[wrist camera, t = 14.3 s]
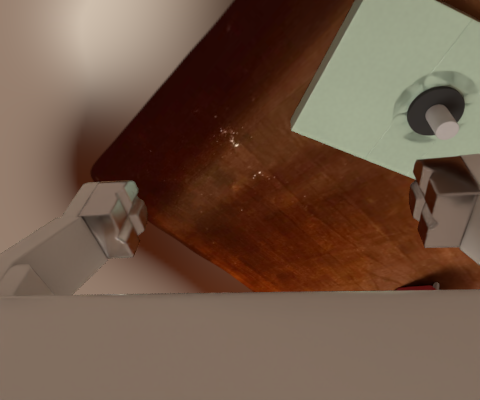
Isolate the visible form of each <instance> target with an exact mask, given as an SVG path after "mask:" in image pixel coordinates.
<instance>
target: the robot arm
mask: <svg viewBox="0 0 480 400" xmlns="http://www.w3.org/2000/svg"><path fill="white" fill-rule="evenodd" d="M413 173H414V176H415V178H416V180H415V181H414V182H413V183H412V184H411V185H410V191H409V205H410V210H411V213H412V216H413V218H415V219H416V220H418V221H419V225H418V232H419V234H420V237H421V239H422V242H423V244H424V247H425V248H437V247H460V250H462V251H463V252H464V253H465V254H467V255H468V256H469V257H470V258H471V259H473V260H474V261H475V262H476V263H478V264H479V265H480V154H479V153H478V154H468V155H458V156H453V157H440V158H428V159H417V160H416V162H415V164H414V169H413ZM138 191H139V190H138V188H137V186H136V184H135V182H133V181H131V180H125V181H106V182H91V183H86V184H84V185H83V186H82V187H81V189H80V190H79V191H78V193H77V195H76V196H75V197H74V199H73V200H72V202H71V203H70V205H69V206H68V208H67V209H66V211H65V212H64V213H63V215H62V217H61V218H55V219H54V220H52V221H50V222H49V223H47V224H46V225H44V226H43V227H41V228H40V229H38V230H36V231H35V232H33V233H32V234H30V235H29V236H27V237H26V238H24V239H22V240H21V241H19V242H18V243H16V244H15V245H13V246H12V247H10V248H8V249H7V250H5V251H4V252H2V253H1V254H0V400H480V289H469V290H403V291H320V292H247V293H246V292H244V293H178V294H175V293H173V294H106V295H105V294H103V295H102V294H100V295H73V294H74V293H75V292H76V291H77V290H78V289H79V288H80V287H81V286H82V285H83V284H84V283H85V282H86V281H87V280H88V279H89V278H90V277H91V276H92V275H93V274H94V273H95V272H96V271H97V270H98V269H100V268H101V267H102V265H104V263H106V262H107V261H108V259H111V258H128V257H134V255H135V252H136V250H137V247H138V245H139V242H140V240H139V237H138V235H139V234H140V233H142V232H143V231H144V230H145V227H146V224H147V217H148V213H147V209H146V206H145V203H144V201H142V200H141V199H140V198H138V197H137V194H138Z"/></svg>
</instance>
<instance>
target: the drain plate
mask: <svg viewBox="0 0 480 400" xmlns="http://www.w3.org/2000/svg"><path fill="white" fill-rule="evenodd" d="M438 86H447V87H451V88H454V89H456V90H457V91H458V92H459V93H460V94H461V95H462V97H463V98H464V101H465V109H464V113H463V115H462V117H461V119H460V120H459V121H458V122H457V123H458V125H459V131H458V133H457V134H456V135H455V136H454V137H453V138H451V139H448V140H441V139H438V138H437V137H436V135H432V136H426V135H421V134H418V133H416V132H414V131H413V130H412V129H411V127H410V126H409V124H408V121H407V111H408V108H409V106H410V104H411V103H412V101H413V100H414V99H415V98H416V97H417V96H418V95H419V94H421V93H422V92H424V91H426V90H428V89H430V88H433V87H438ZM291 131H294V132H296V133H299V134H301V135H304V136H306V137H309V138H311V139H314V140H316V141H319V142H322V143H324V144H327V145H329V146H332V147H334V148H337V149H339V150H342V151H344V152H347V153H350V154H352V155H355V156H357V157H360V158H362V159H365V160H367V161H370V162H372V163H375V164H377V165H380V166H382V167H385V168H388V169H390V170H393V171H395V172H398V173H400V174H403V175H406V176H408V177H411V178H413V179H416V178H415V176H414V173H413V169H414V164H415V162H416V160H417V159H428V158H440V157H453V156H458V155H468V154H478V153H479V154H480V20H479V19H477V18H475V17H473V16H471V15H469V14H467V13H465V12H462V11H461V10H459V9H457V8H455V7H453V6H451V5H449V4H447V3H445V2H443V1H441V0H355V1H354V3H353V5H352V7H351V9H350V11H349V13H348V14H347V16H346V18H345V20H344V22H343V24H342V25H341V27H340V29H339V31H338V33H337V35H336V37H335V38H334V40H333V42H332V44H331V46H330V48H329V50H328V51H327V53H326V55H325V57H324V59H323V61H322V62H321V64H320V66H319V68H318V70H317V72H316V74H315V75H314V77H313V79H312V81H311V83H310V85H309V87H308V88H307V90H306V92H305V94H304V96H303V98H302V99H301V101H300V103H299V105H298V107H297V109H296V111H295V112H294V114H293V116H292V118H291Z"/></svg>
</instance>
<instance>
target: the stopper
mask: <svg viewBox="0 0 480 400" xmlns="http://www.w3.org/2000/svg"><path fill="white" fill-rule="evenodd" d="M464 109H465V101H464V98H463V97H462V95H461V94H460V93H459V92H458V91H457V90H456V89H454V88H451V87H447V86H438V87H433V88H430V89H428V90H426V91H424V92H422V93H421V94H419V95H418V96H417V97H416V98H415V99H414V100H413V101H412V103H411V104H410V106H409V108H408V111H407V121H408V124H409V126H410V127H411V129H412V130H413V131H414V132H416V133H418V134H421V135H426V136H432V135H436V137H437V138H438V139H441V140H448V139H451V138H453V137H454V136H455V135H456V134H457V133H458V131H459V125H458V123H457V122H458V121H459V120H460V119H461V117H462V115H463V113H464Z"/></svg>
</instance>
